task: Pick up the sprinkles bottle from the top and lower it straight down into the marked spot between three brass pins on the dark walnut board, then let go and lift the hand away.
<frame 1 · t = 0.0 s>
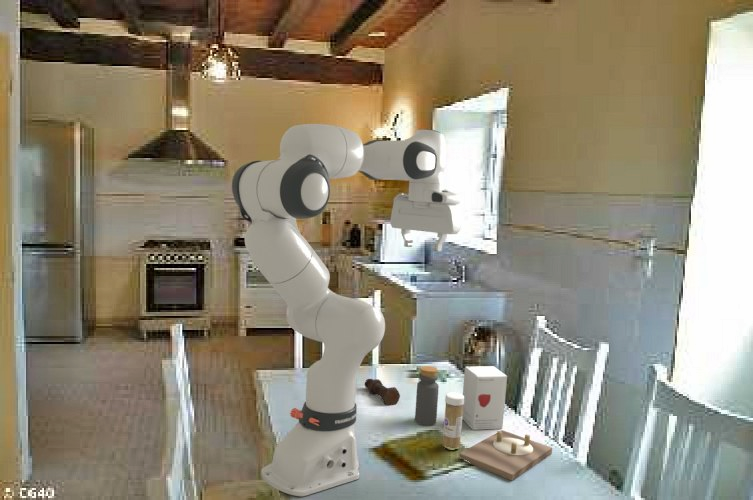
hand: (422, 248, 151), 48 cm above the table, tool pointing down, fingers open, 8 cm apart
bolt: (380, 397, 178), on the table
pin board: (506, 456, 142), on the table
supplement box: (481, 424, 161), on the table
sprinkles bottle: (451, 448, 145), on the table
bottle: (425, 422, 160), on the table
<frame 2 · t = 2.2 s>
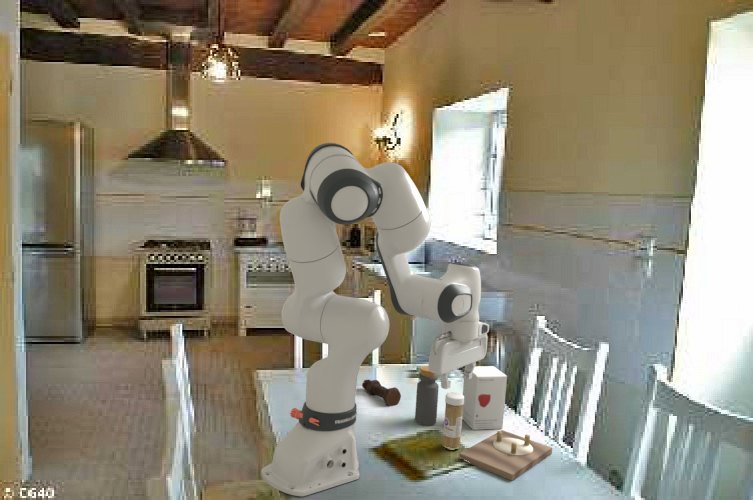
hand: (456, 383, 144), 16 cm above the table, tool pointing down, fingers open, 8 cm apart
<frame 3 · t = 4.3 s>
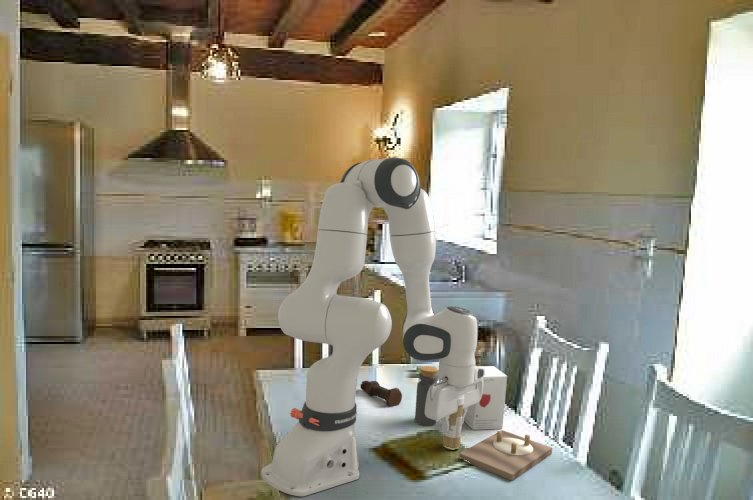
hand: (452, 427, 145), 5 cm above the table, tool pointing down, fingers closed on sprinkles bottle, 4 cm apart
sprinkles bottle: (451, 448, 145), on the table, touching gripper
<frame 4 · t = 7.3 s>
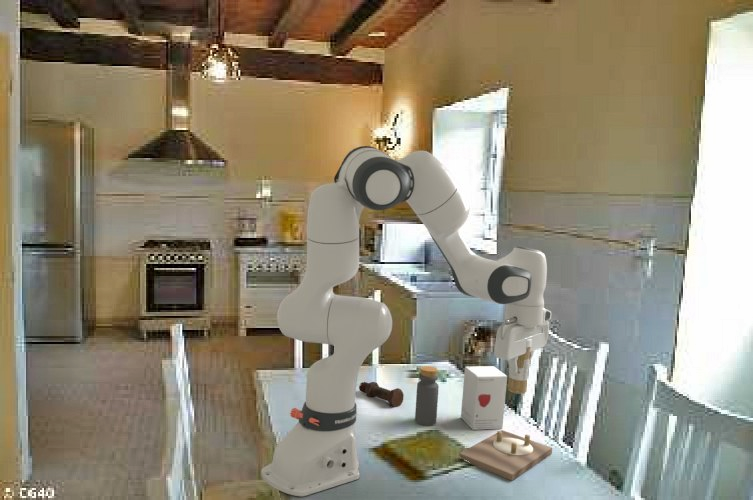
hand: (519, 370, 142), 21 cm above the table, tool pointing down, fingers closed on sprinkles bottle, 4 cm apart
sprinkles bottle: (516, 391, 142), point 15 cm above the table, touching gripper
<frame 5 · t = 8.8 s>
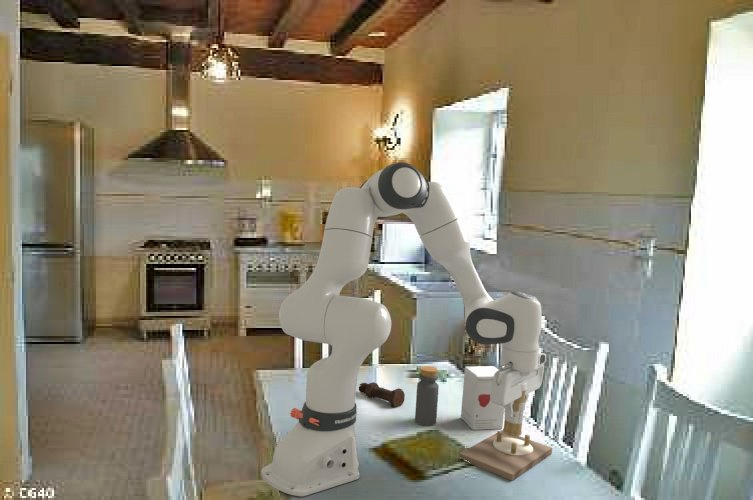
hand: (514, 413, 143), 10 cm above the table, tool pointing down, fingers closed on sprinkles bottle, 4 cm apart
sprinkles bottle: (512, 434, 144), point 4 cm above the table, touching gripper
when the fingers open (8 cm above the table, at t = 10.3 s): sprinkles bottle moves 1 cm, resting on pin board.
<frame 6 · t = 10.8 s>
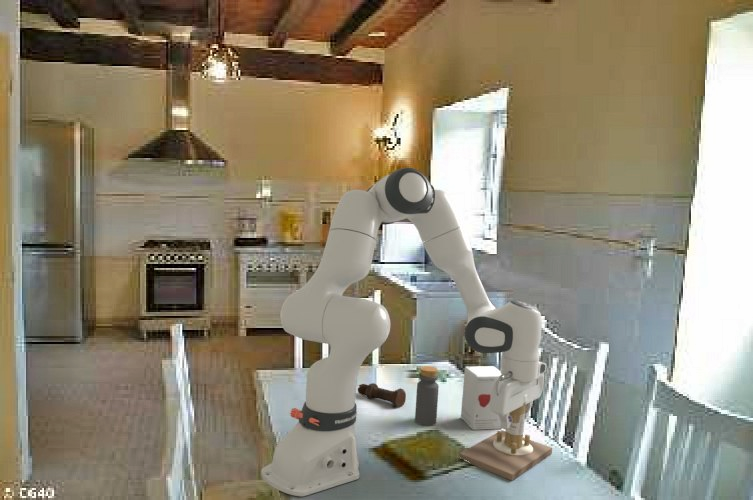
hand: (514, 422, 143), 8 cm above the table, tool pointing down, fingers open, 8 cm apart
sprinkles bottle: (513, 445, 145), point 2 cm above the table, touching pin board
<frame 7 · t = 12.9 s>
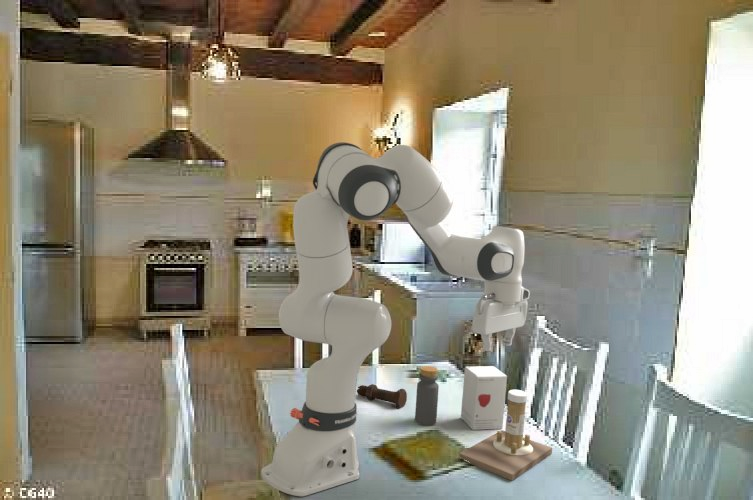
hand: (497, 347, 144), 25 cm above the table, tool pointing down, fingers open, 8 cm apart
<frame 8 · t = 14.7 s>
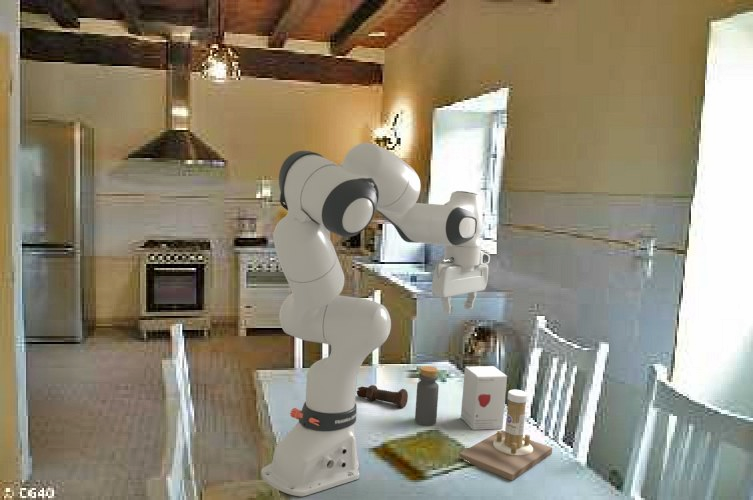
hand: (458, 310, 148), 33 cm above the table, tool pointing down, fingers open, 8 cm apart
at the end: sprinkles bottle 0.8 cm from the target spot on the pin board, point 1.5 cm above the pin board's base; sprinkles bottle tilted 0°; the gripper is holding nothing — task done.
